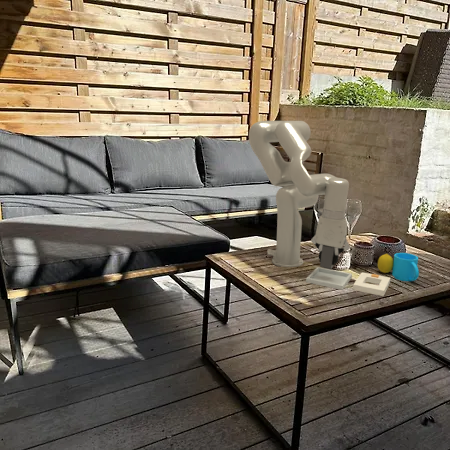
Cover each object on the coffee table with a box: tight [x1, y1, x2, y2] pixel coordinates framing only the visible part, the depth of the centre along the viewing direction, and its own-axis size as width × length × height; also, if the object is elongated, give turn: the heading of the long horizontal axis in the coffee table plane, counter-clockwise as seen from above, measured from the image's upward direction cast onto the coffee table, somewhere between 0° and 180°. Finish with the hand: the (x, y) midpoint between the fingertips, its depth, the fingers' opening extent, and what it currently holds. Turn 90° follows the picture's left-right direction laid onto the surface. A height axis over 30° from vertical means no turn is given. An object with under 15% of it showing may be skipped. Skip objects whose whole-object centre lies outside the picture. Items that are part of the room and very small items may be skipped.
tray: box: [305, 266, 353, 291], centre depth 151 cm, size 13×13×2 cm
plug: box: [319, 245, 335, 270], centre depth 150 cm, size 4×5×8 cm
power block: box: [352, 272, 392, 297], centre depth 146 cm, size 10×13×3 cm
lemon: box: [377, 253, 394, 274], centre depth 158 cm, size 6×6×8 cm
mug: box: [391, 252, 420, 282], centre depth 153 cm, size 12×8×8 cm
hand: (327, 262), depth 151 cm, fingers closed on plug, 4 cm apart
